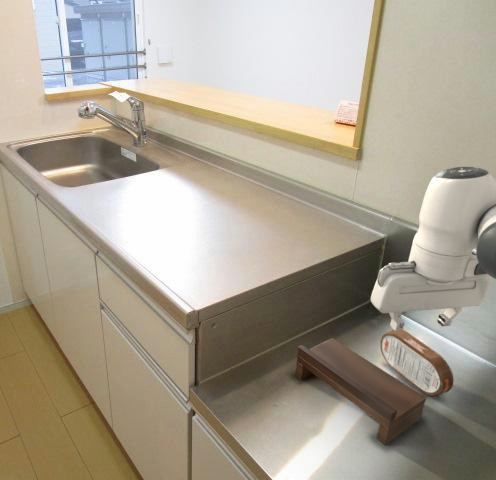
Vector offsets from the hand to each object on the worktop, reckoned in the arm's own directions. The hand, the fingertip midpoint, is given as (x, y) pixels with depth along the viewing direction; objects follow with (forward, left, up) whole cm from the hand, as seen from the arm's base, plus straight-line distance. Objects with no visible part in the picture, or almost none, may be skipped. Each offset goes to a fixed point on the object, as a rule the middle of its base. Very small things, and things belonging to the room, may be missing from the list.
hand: (420, 326), depth 83 cm
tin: (0, 0, -12) cm, 12 cm away
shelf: (+13, +3, -12) cm, 18 cm away
